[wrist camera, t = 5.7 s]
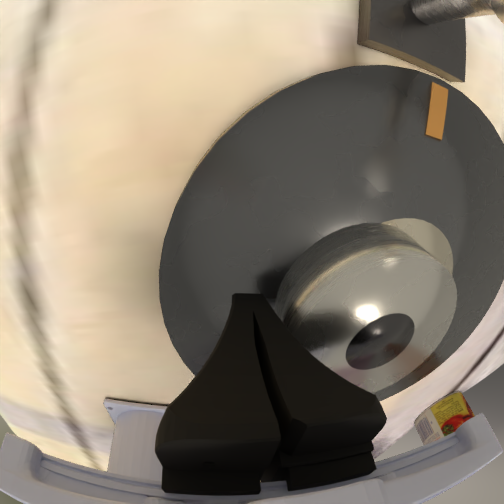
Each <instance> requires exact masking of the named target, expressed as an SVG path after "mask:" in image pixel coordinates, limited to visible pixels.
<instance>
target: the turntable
mask: <svg viewBox="0 0 504 504" xmlns="http://www.w3.org/2000/svg"><path fill="white" fill-rule="evenodd" d="M363 223H382V224H388V225H391V226H394V227H397V228H399V229H400V230H402V231H404V232H405V233H407V234H408V235H409V236H410V237H411V238H413V239H414V240H415V241H416V242H417V243H418V244H420V245H421V246H422V247H423V248H424V249H425V250H426V251H428V252H429V253H430V254H431V255H432V256H433V257H434V258H435V259H436V260H438V261H439V262H440V263H441V264H442V265H443V266H444V267H445V268H446V269H447V270H448V271H449V272H450V274H451V275H452V277H453V279H454V281H455V284H456V289H457V304H456V309H455V313H454V317H453V319H452V322H451V324H450V327H449V329H448V331H447V333H446V334H445V336H444V337H443V339H442V341H441V342H440V343H439V345H438V346H437V347H436V349H435V350H434V351H433V352H432V353H431V355H430V356H429V357H428V358H427V359H426V360H425V361H424V362H423V363H422V364H420V365H419V366H418V367H417V368H416V369H415V370H413V371H412V372H411V373H409V374H408V375H406V376H405V377H403V378H402V379H400V380H399V381H397V382H395V383H394V384H392V385H390V386H388V387H386V388H384V389H381V390H379V391H376V392H374V393H372V394H374V395H376V397H377V399H378V400H379V401H382V400H384V399H386V398H388V397H390V396H393V395H395V394H397V393H399V392H401V391H402V390H404V389H406V388H408V387H410V386H411V385H413V384H415V383H416V382H418V381H419V380H421V379H422V378H424V377H425V376H427V375H428V374H429V373H431V372H432V371H433V370H435V369H436V368H437V367H438V366H440V365H441V364H442V363H443V362H444V361H446V360H447V359H448V358H449V357H450V356H451V355H452V354H453V353H454V352H455V351H456V350H457V349H458V348H459V347H460V346H461V345H462V344H463V343H464V342H465V341H466V339H467V338H468V337H469V336H470V335H471V333H472V332H473V331H474V330H475V328H476V327H477V326H478V324H479V323H480V322H481V320H482V319H483V317H484V316H485V314H486V313H487V311H488V309H489V308H490V306H491V304H492V302H493V301H494V299H495V297H496V295H497V293H498V291H499V289H500V287H501V284H502V282H503V280H504V144H503V142H502V140H501V138H500V137H499V135H498V133H497V131H496V130H495V128H494V126H493V125H492V123H491V122H490V121H489V119H488V118H487V117H486V116H485V114H484V113H483V112H482V111H481V110H480V108H479V107H478V106H477V105H475V104H474V103H473V102H472V101H471V100H470V99H469V98H468V97H467V96H465V95H464V94H463V93H462V92H460V91H459V90H457V89H456V88H454V87H452V86H451V85H449V84H447V83H446V82H444V81H442V80H441V79H438V78H436V77H433V76H430V75H428V74H425V73H422V72H420V71H417V70H413V69H407V68H401V67H395V66H388V65H370V66H353V67H348V68H343V69H338V70H334V71H330V72H325V73H321V74H318V75H314V76H311V77H308V78H306V79H303V80H301V81H299V82H296V83H294V84H292V85H289V86H287V87H285V88H283V89H281V90H278V91H276V92H275V93H273V94H271V95H270V96H268V97H267V98H265V99H264V100H262V101H261V102H259V103H258V104H256V105H255V106H253V107H252V108H250V109H249V110H248V111H246V112H245V113H244V114H243V115H242V116H240V117H239V118H238V119H237V120H236V121H235V122H234V123H233V124H232V125H231V126H230V127H229V128H228V129H227V130H226V131H224V132H223V133H222V134H221V135H220V136H219V137H218V139H217V140H216V141H215V142H214V144H213V145H212V146H211V148H210V149H209V150H208V151H207V153H206V154H205V155H204V157H203V158H202V159H201V161H200V162H199V163H198V165H197V166H196V168H195V170H194V171H193V173H192V175H191V177H190V179H189V181H188V182H187V184H186V186H185V188H184V190H183V192H182V194H181V196H180V198H179V200H178V202H177V204H176V206H175V209H174V212H173V215H172V218H171V221H170V224H169V227H168V230H167V233H166V236H165V239H164V243H163V249H162V256H161V262H160V269H159V292H160V303H161V308H162V313H163V318H164V323H165V326H166V329H167V331H168V334H169V336H170V339H171V341H172V344H173V346H174V347H175V349H176V351H177V352H178V354H179V356H180V357H181V359H182V360H183V362H184V363H185V364H186V366H187V367H188V368H189V369H190V370H191V371H192V373H193V374H194V375H195V376H196V375H197V374H198V373H199V371H200V370H201V369H202V367H203V366H204V364H205V363H206V361H207V360H208V358H209V357H210V355H211V353H212V351H213V350H214V348H215V346H216V344H217V342H218V340H219V338H220V336H221V334H222V332H223V329H224V327H225V325H226V322H227V319H228V316H229V313H230V309H231V303H232V295H233V294H234V293H254V294H263V295H264V296H265V297H266V299H267V301H268V302H269V304H270V305H271V307H272V308H273V310H275V300H276V296H277V292H278V290H279V287H280V284H281V282H282V280H283V279H284V277H285V275H286V273H287V272H288V270H289V269H290V268H291V266H292V265H293V264H294V262H295V261H296V260H297V259H298V258H299V257H300V256H301V255H302V254H303V253H304V252H305V251H306V250H307V249H308V248H310V247H311V246H312V245H314V244H315V243H316V242H318V241H319V240H321V239H322V238H324V237H326V236H328V235H329V234H331V233H333V232H335V231H338V230H340V229H343V228H345V227H349V226H353V225H356V224H363Z"/></svg>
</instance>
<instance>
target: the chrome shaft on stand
mask: <svg viewBox="0 0 504 504" xmlns="http://www.w3.org/2000/svg"><path fill="white" fill-rule="evenodd" d="M494 14H496V15H497V17H498V18H499V19H500V20H501V22H502V23H503V24H504V0H360V9H359V28H358V43H357V44H360V45H363V46H366V47H369V48H372V49H375V50H378V51H381V52H384V53H387V54H389V55H392V56H395V57H397V58H400V59H402V60H405V61H407V62H410V63H412V64H414V65H417V66H419V67H421V68H423V69H426V70H428V71H430V72H432V73H434V74H436V75H438V76H440V77H442V78H444V79H446V80H448V81H450V82H465V66H466V31H465V18H469V17H477V16H485V15H494Z"/></svg>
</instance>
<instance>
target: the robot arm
mask: <svg viewBox="0 0 504 504" xmlns="http://www.w3.org/2000/svg"><path fill="white" fill-rule="evenodd" d="M103 404H104V406H105V408H106V409H107V411H108V413H109V415H110V417H111V418H112V420H113V422H114V423H115V430H114V435H113V440H112V446H111V451H110V457H109V463H108V470H107V472H106V471H101V470H97V469H93V468H89V467H86V466H82V465H78V464H75V463H71V462H68V461H65V460H62V459H59V458H56V457H53V456H50V455H47V454H44V453H42V451H41V450H40V449H39V448H38V447H37V446H35V445H34V444H32V443H31V442H29V441H27V440H24V439H22V438H20V437H17V436H15V435H13V434H10V433H6V434H5V437H4V440H3V443H2V446H1V449H0V490H1V491H2V492H4V493H6V494H7V495H9V496H11V497H13V498H14V499H16V500H18V501H20V502H22V503H24V504H422V503H424V502H426V501H428V500H430V499H432V498H434V497H436V496H437V495H439V494H441V493H443V492H445V491H447V490H448V489H450V488H452V487H454V486H455V485H457V484H459V483H460V482H462V481H463V480H465V479H466V478H468V477H470V476H471V475H473V474H474V473H476V472H477V471H478V470H480V469H481V468H483V467H484V466H485V465H487V464H488V463H490V462H491V461H492V460H494V459H495V458H496V457H497V456H499V455H500V454H501V453H502V452H503V449H502V447H501V446H500V443H499V441H498V440H497V438H496V436H495V434H494V432H493V430H492V428H491V427H490V425H489V423H488V421H487V419H486V418H485V416H484V414H483V413H480V414H478V415H477V416H475V417H473V418H471V419H469V420H467V421H466V422H464V423H463V424H462V425H461V426H460V427H459V428H458V429H457V430H456V431H455V432H453V433H451V434H449V435H447V436H445V437H443V438H440V439H438V440H436V441H433V442H431V443H429V444H426V445H424V446H421V447H419V448H416V449H414V450H411V451H408V452H405V453H402V454H400V455H397V456H394V457H391V458H388V459H384V460H381V461H378V462H374V459H373V456H372V453H371V451H373V450H374V447H373V444H372V441H371V440H372V439H373V438H374V437H375V436H376V435H377V434H378V433H379V432H380V431H381V429H382V428H383V427H384V425H385V423H386V420H387V418H386V415H385V413H384V411H383V408H382V406H381V404H380V402H379V400H378V399H377V397H376V395H374V394H372V393H370V392H368V391H366V390H364V389H362V388H360V387H358V386H356V385H354V384H353V383H351V382H349V381H348V380H346V379H344V378H343V377H341V376H339V375H338V374H337V373H335V372H334V371H332V370H331V369H330V368H328V367H327V366H325V365H324V364H323V363H321V362H320V361H319V360H318V359H317V358H315V357H314V356H313V355H312V354H311V353H310V352H309V351H308V350H307V349H306V348H305V347H304V346H303V345H302V344H301V343H300V342H299V341H298V340H297V339H296V338H295V337H294V336H293V334H292V333H291V332H290V331H289V330H288V329H287V327H286V326H285V325H284V323H283V322H282V321H281V320H280V318H279V317H278V315H277V314H276V313H275V311H274V310H273V308H272V307H271V305H270V304H269V302H268V301H267V299H266V297H265V296H264V295H263V294H254V293H234V294H233V295H232V303H231V309H230V313H229V316H228V319H227V322H226V325H225V327H224V329H223V332H222V334H221V336H220V338H219V340H218V342H217V344H216V346H215V348H214V350H213V351H212V353H211V355H210V357H209V358H208V360H207V361H206V363H205V364H204V366H203V367H202V369H201V370H200V371H199V373H198V374H197V375H196V376H195V378H194V379H193V380H192V381H191V383H190V384H189V385H188V386H187V387H186V389H185V390H184V391H183V392H182V393H181V394H180V395H179V396H178V397H177V398H176V399H175V400H174V401H173V402H172V403H171V404H170V405H169V406H158V405H148V404H139V403H132V402H124V401H118V400H112V399H105V400H104V402H103ZM260 481H261V483H260Z"/></svg>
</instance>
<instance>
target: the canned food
mask: <svg viewBox="0 0 504 504" xmlns="http://www.w3.org/2000/svg"><path fill="white" fill-rule="evenodd" d="M473 417H475V416H474V414H473V412H472V410H471V409H470V407H469V405H468V403H467V402H466V400H465V398H464V396H463V395H462V393H461V392H460V391H456V392H453V393H451V394H448V395H446V396H445V397H443V398H441V399H440V400H438V401H436V402H435V403H434V404H432V405H431V406H429V407H428V408H427V409H426V410H425V411H423V412H422V413H421V414H420V415H419V416H418V418H417V419H416V420H415V422H414V424H415V427H416V429H417V431H418V433H419V435H420V438H421V440H422V442H423V444H424V445H426V444H429V443H431V442H433V441H436V440H438V439H440V438H443V437H445V436H447V435H449V434H451V433H453V432H455V431H456V430H457V429H458V428H459V427H460V426H461V425H462V424H463V423H464V422H466V421H467V420H469V419H471V418H473Z"/></svg>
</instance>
